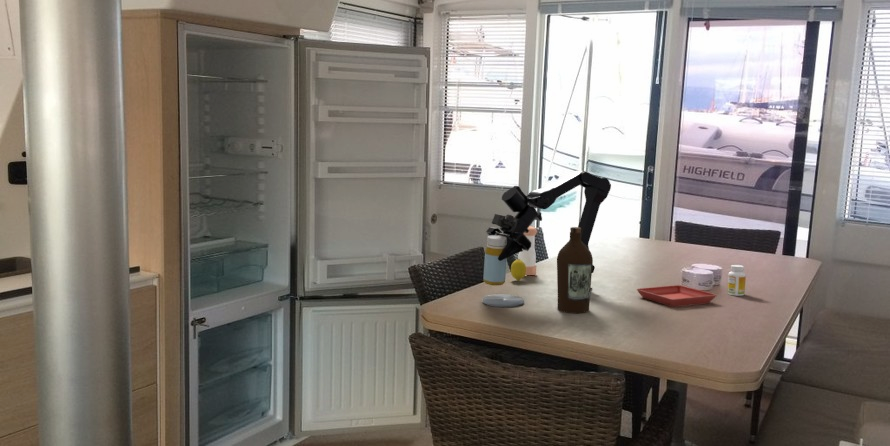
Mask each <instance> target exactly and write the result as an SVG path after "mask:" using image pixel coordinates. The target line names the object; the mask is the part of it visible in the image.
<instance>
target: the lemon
mask: <svg viewBox="0 0 890 446" xmlns="http://www.w3.org/2000/svg"><path fill="white" fill-rule="evenodd" d="M510 274H511V276H512V278H513V279H515V280H516V281H517V280H519V281H520V280H521V279H523V278H525V277H526V276H525V274H526V266H525V263H524V262H523V261H521V260H520V259H518V258H517V259H516V260H514V261H513V262H512V263H511V267H510Z"/></svg>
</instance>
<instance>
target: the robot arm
mask: <svg viewBox="0 0 890 446" xmlns="http://www.w3.org/2000/svg"><path fill="white" fill-rule="evenodd" d="M579 186H580V187H582V188H584V191H583V193H584V197H585V203H584V206H583V209H582V213H581V215H580V218H579V219H580V220H579V223H578V226H577V227H580V228H581V241H582V242H583V243H584V245H585V246H586V247H587V248H588V249H589V250H590V248H589V243H590V239H591V236H592V232H593V229H594V226H595V223H596V220H597V216H598V213H599V209H600V207H601V204H602V203H603V202H604V201H605V200H606V199H607V197H608V195H609V193H610V191H611V189H612V184H611V182H610V180H609V179H608V177H600V176H598V175H594V174H592V173H589V172H587V171H585V170H575V171H573V172H572V173H571V174H569V175H568V176H566V177H564V178H562V179H560V180H558V181H556V182H555V183H552V184H551V185H549V186H547V187H541V188H538V189H535V190H531V191H530V192H529V193H528V194H525V193H524V192H523V190H522V189H521V187H520V186H519V185H513V187H512V188H510V189H508V190H506V191H504V192H503V194H502V196H501V201H502V202H503V203H504V204H505V205H506V206H507V207H508V208H509V209H510V211H511V212H512V213H516V214H515V215H512V214H505V215H502V214H497V213H494V215H493V218H492V220H491V224H492V225H496V226H498V227H499V228H498V227H493V226H490V227H488V229H486V231H485V233H486V234H487V235H488V236H490V235H499V236H504V237H506V238H507V244H506V246H505V248H504V249H503V251H502V252H501V254H500V256H499V257H498V260H499V261H501V260H503V259H505V258H507V259H508V258H510V257H511V256H514V255H515V254H516V255H517V254H519V252H522V251H523V250H526V251H528V250H529V249H530V248H531V242H530V240H529V239H528V238H527V237H526V236H525V235H524V233H528V232H529V230H528V228H529V226H531V225H532V224H533V223H534V222H535V221H540V222H542V221H543V216H542V212H540V211H538V210H547V209H548V208H550V207H551V206H552V205H553V204H554V203H555V202H556V200H557V199H558V198H559V197H561V196H563V195H565V194H566V193H568V192H570V191H571V190H573V189H576V187H579ZM522 249H523V250H522ZM595 268H596V267H595V265H594V264H593V265H592V274H593V273H594V272H595ZM591 290H593V287H591V288H590V291H591Z"/></svg>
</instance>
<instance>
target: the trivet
mask: <svg viewBox="0 0 890 446" xmlns="http://www.w3.org/2000/svg"><path fill="white" fill-rule="evenodd" d="M482 303H483V304H484V305H486V304H487V306H491V307H496V308H497V307H498V308H512V307H513V308H514V307H520V306H522V305H525V298H524V297H523V296H519V295H515V294H505V293H504V294H502V293H500V294H499V293H496V294H495V293H494V294H489V295H485V296H483V297H482Z"/></svg>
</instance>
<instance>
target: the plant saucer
mask: <svg viewBox="0 0 890 446" xmlns="http://www.w3.org/2000/svg"><path fill="white" fill-rule="evenodd" d="M636 291H637V292H638V293H639V295H640V296H641V297H642V298H643V299H646V300H649V301H651V302H652V301H653V302H656V303H659V304H662V305H665V306H668V307H673V308H675V307H685V306H694V305H703V304H704V305H705V304H709V303H710V302H712V301H713V299H715V298H716V297H717V294H715V293H712V292H707V291H705V290H701V289H696V288H692V287H688V286H685V285H680V284H678V285H675V284H674V285H667V286H666V285H665V286H664V285H663V286H655V287H642V288H636Z"/></svg>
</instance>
